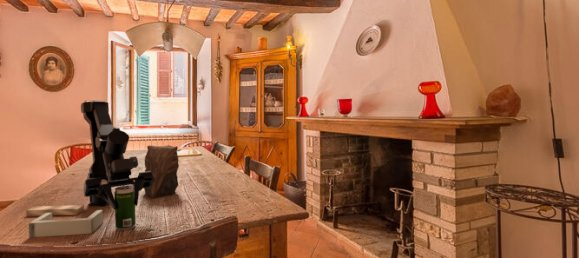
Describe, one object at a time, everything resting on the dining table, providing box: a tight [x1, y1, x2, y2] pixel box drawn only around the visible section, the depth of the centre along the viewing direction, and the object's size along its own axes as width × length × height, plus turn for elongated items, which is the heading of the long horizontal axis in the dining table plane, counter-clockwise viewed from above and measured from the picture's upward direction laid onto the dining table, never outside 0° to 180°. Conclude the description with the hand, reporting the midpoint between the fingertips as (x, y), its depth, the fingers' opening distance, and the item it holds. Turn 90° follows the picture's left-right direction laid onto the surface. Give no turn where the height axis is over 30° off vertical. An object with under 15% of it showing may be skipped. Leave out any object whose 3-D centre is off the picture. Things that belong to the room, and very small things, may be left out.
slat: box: [25, 204, 85, 217], centre depth 111 cm, size 16×4×2 cm, turn 96°
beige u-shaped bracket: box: [28, 209, 104, 238], centre depth 96 cm, size 9×16×4 cm, turn 101°
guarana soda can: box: [113, 185, 137, 231], centre depth 97 cm, size 5×5×12 cm
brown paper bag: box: [143, 144, 180, 200], centre depth 136 cm, size 13×13×20 cm
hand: (126, 206), depth 96 cm, fingers closed on guarana soda can, 5 cm apart
